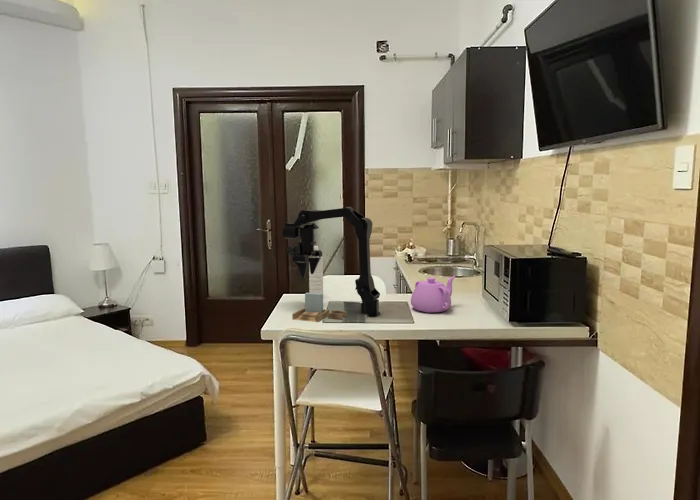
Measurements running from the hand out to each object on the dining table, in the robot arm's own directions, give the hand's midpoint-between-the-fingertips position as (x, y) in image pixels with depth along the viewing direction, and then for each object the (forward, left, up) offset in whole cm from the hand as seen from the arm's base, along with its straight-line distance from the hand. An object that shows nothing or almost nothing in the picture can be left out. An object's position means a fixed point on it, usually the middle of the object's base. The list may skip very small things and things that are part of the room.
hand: (307, 275), depth 223 cm
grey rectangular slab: (-8, +12, -14) cm, 20 cm away
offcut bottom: (-8, +16, -14) cm, 23 cm away
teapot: (-51, -19, -15) cm, 57 cm away
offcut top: (-9, +17, -13) cm, 23 cm away
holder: (-18, +12, -15) cm, 26 cm away
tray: (-8, +15, -15) cm, 22 cm away
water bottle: (+6, -20, -15) cm, 26 cm away
